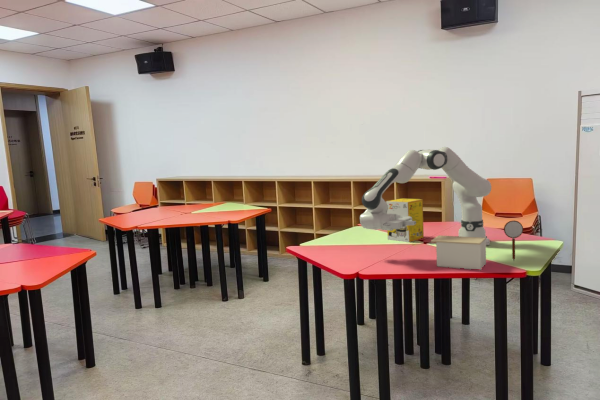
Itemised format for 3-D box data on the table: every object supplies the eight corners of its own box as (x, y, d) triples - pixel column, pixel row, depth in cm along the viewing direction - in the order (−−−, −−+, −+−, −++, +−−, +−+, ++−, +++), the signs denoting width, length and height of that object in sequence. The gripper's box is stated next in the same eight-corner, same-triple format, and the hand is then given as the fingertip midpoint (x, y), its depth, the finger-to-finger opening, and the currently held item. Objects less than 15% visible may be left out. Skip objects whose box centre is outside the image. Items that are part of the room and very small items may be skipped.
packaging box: (387, 239, 286) (386, 201, 283) (402, 235, 297) (401, 198, 294) (408, 242, 274) (407, 202, 271) (423, 237, 284) (422, 199, 282)
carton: (444, 260, 225) (443, 237, 224) (486, 263, 215) (485, 239, 213) (436, 266, 215) (436, 242, 213) (480, 270, 204) (480, 244, 203)
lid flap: (438, 236, 226) (438, 235, 226) (485, 238, 214) (485, 237, 214) (430, 241, 215) (430, 240, 214) (480, 244, 202) (480, 243, 202)
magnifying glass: (522, 260, 216) (522, 220, 214) (523, 261, 215) (523, 220, 213) (503, 260, 218) (503, 220, 216) (504, 261, 217) (504, 221, 215)
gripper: (381, 218, 223) (407, 219, 216) (395, 213, 240) (421, 214, 233) (381, 231, 224) (408, 232, 216) (396, 225, 241) (421, 226, 233)
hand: (415, 223), depth 225 cm, fingers closed
